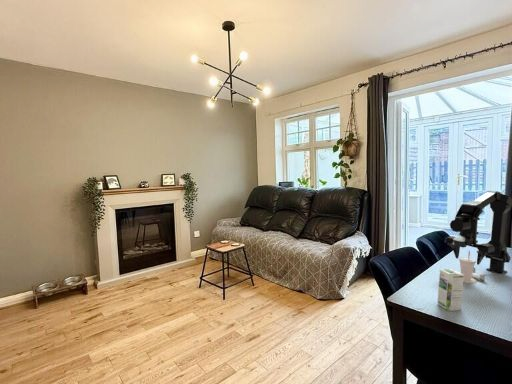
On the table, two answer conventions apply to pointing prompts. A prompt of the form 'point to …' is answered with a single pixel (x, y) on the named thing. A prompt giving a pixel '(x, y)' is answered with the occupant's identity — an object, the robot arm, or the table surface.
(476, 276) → the steel rail
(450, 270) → the syrup box
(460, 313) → the table surface
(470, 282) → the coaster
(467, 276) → the smoothie
